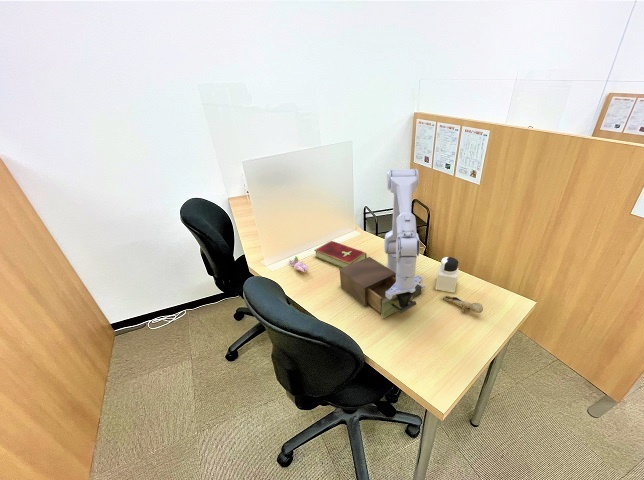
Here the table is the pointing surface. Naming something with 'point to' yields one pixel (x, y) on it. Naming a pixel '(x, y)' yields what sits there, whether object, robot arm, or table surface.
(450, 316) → the table surface
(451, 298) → the figurine
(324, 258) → the hardcover book
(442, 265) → the ball on square pedestal
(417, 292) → the black block with tip
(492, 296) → the table surface
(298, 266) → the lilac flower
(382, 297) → the drawer
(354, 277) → the cabinet
